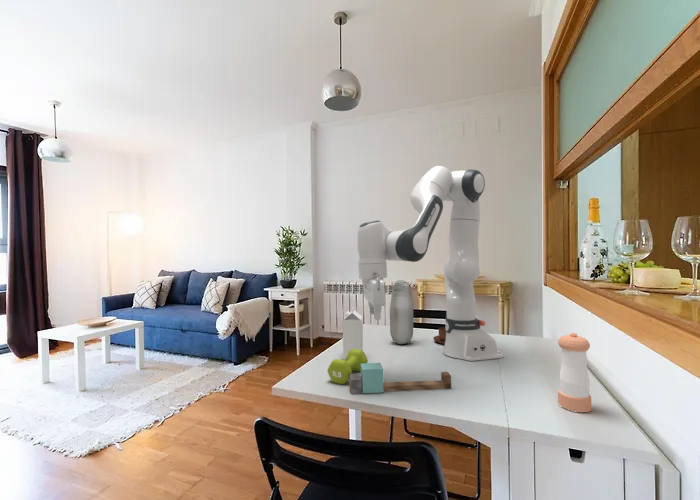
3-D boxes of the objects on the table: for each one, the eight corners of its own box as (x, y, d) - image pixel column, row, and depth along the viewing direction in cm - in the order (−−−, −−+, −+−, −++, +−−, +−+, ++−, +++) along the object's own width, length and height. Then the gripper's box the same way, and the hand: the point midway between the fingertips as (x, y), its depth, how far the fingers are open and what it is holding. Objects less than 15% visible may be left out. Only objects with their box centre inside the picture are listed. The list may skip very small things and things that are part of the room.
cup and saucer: (427, 341, 158) (427, 327, 158) (449, 338, 163) (449, 325, 163) (445, 347, 147) (444, 333, 147) (467, 344, 152) (467, 330, 152)
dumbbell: (348, 367, 124) (348, 346, 124) (369, 370, 120) (369, 349, 120) (325, 382, 109) (325, 359, 109) (348, 387, 105) (347, 363, 105)
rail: (446, 383, 107) (446, 370, 107) (452, 390, 102) (452, 376, 102) (349, 387, 105) (349, 374, 105) (350, 394, 100) (350, 380, 100)
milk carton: (363, 354, 138) (362, 306, 138) (361, 360, 131) (361, 309, 131) (345, 354, 138) (344, 306, 139) (343, 360, 131) (342, 309, 132)
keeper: (380, 385, 106) (380, 362, 106) (383, 392, 100) (383, 368, 100) (360, 385, 105) (360, 363, 105) (362, 393, 100) (362, 369, 100)
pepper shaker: (558, 409, 89) (557, 334, 89) (558, 398, 95) (557, 328, 96) (592, 415, 85) (591, 337, 86) (590, 404, 92) (589, 331, 92)
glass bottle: (393, 339, 161) (392, 279, 161) (415, 341, 157) (414, 279, 157) (387, 345, 152) (386, 280, 152) (410, 347, 148) (409, 281, 148)
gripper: (389, 273, 99) (391, 322, 99) (377, 270, 119) (379, 310, 119) (367, 275, 98) (369, 323, 98) (359, 271, 119) (361, 311, 119)
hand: (375, 316), depth 109 cm, fingers open, 8 cm apart
